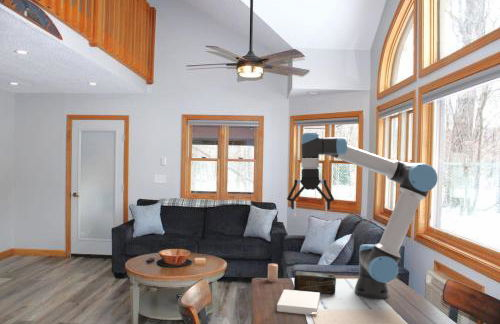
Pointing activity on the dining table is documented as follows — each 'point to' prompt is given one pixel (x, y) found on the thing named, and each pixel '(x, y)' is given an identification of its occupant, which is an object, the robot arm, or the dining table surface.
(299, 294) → the white flat slab
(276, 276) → the peach rounded cylinder
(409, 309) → the dining table surface
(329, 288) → the beverage carton
